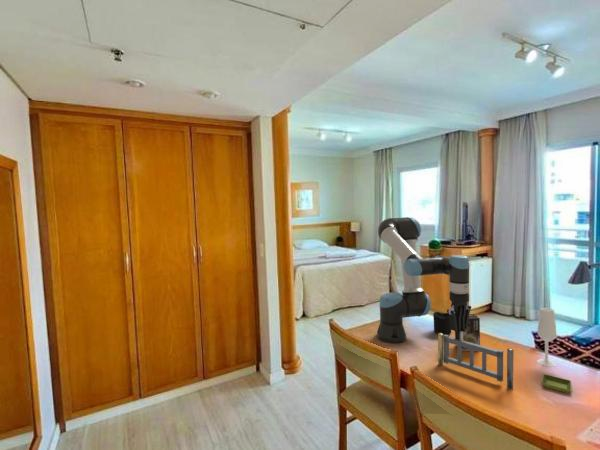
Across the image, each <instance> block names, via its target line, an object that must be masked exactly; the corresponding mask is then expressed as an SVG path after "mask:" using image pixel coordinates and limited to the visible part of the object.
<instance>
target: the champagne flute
mask: <svg viewBox="0 0 600 450" xmlns="http://www.w3.org/2000/svg"><path fill="white" fill-rule="evenodd" d="M536 333H537V335H538V337H540V339H541V340H543V341H544V358H540V359H538V360H536V363H537V364H539V365H541V366H544V367H548V368H553V367H557V364H556V363H555V362H553V361H552V360H551V359H549V342H552V341H554V340H555V339H556V338H557V325H556V315H555V309H553V308H550V307H541V308H540V310H539V318H538V325H537V332H536Z"/></svg>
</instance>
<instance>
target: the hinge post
mask: <svg viewBox="0 0 600 450" xmlns="http://www.w3.org/2000/svg"><path fill="white" fill-rule="evenodd" d="M506 357H507V358H506V388H507V389H509V390H513V389H514V349H513V348H507V351H506Z"/></svg>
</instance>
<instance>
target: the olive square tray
mask: <svg viewBox="0 0 600 450" xmlns="http://www.w3.org/2000/svg"><path fill="white" fill-rule="evenodd" d="M541 379H542V380H541V383H542V385H543V387H545V388H547V389H551V390H556V391H559V392H561V393H562V392H563V393H565V394H567V393H570V392H571V391H572V381H571V380H570V379H567V378H566V379H565V378H563V377H562V378H561V377H558V376H554V375H549V374H545V373H543V374H542V378H541Z"/></svg>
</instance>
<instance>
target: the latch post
mask: <svg viewBox="0 0 600 450" xmlns="http://www.w3.org/2000/svg"><path fill="white" fill-rule="evenodd" d="M437 341H438V342H437V344H438V345H437V347H438V349H437V351H438V355H437V356H438V357H437V358H438V359H437V360H438V361H437V362H438V366H441V367H442V366H444V335H443V334H442V333H437Z"/></svg>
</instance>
